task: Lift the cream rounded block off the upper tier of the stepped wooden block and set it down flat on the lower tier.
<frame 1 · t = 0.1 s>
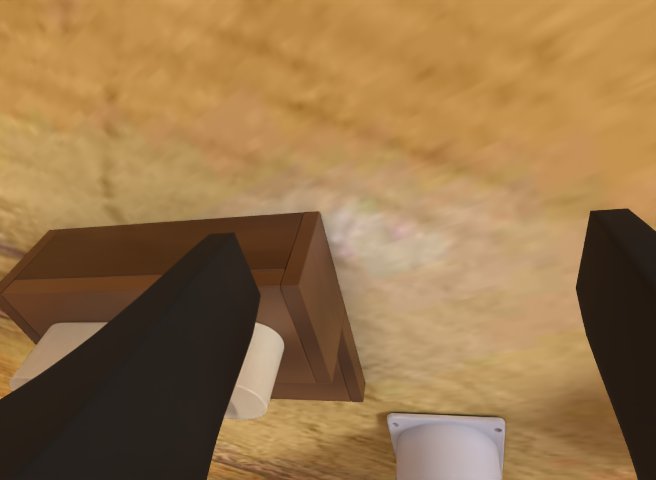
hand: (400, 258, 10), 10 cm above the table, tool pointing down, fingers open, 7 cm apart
stepped wooden block: (219, 309, 29), on the table
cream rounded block: (161, 339, 23), point 5 cm above the table, touching stepped wooden block
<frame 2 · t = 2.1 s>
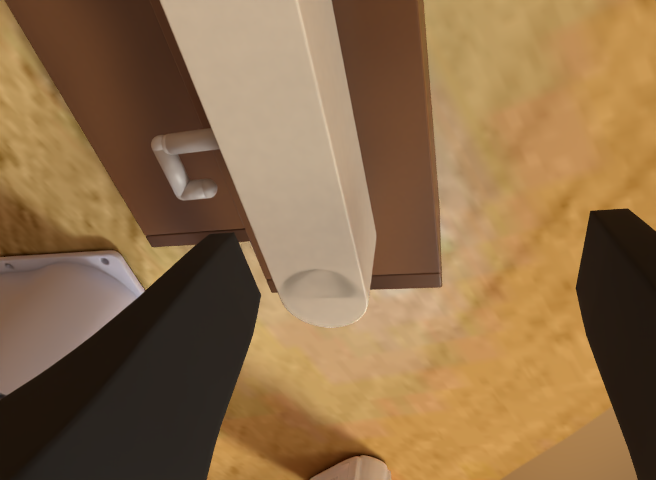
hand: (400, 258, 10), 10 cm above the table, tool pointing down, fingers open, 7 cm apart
stepped wooden block: (244, 60, 18), on the table
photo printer: (346, 471, 42), on the table
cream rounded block: (303, 103, 14), point 5 cm above the table, touching stepped wooden block
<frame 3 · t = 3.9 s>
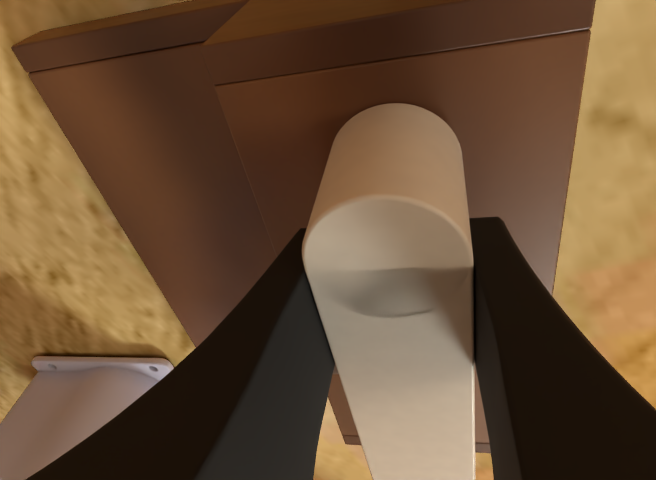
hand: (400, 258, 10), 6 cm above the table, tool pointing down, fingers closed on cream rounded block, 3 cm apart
stepped wooden block: (324, 215, 18), on the table
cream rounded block: (414, 315, 13), point 5 cm above the table, touching gripper, stepped wooden block
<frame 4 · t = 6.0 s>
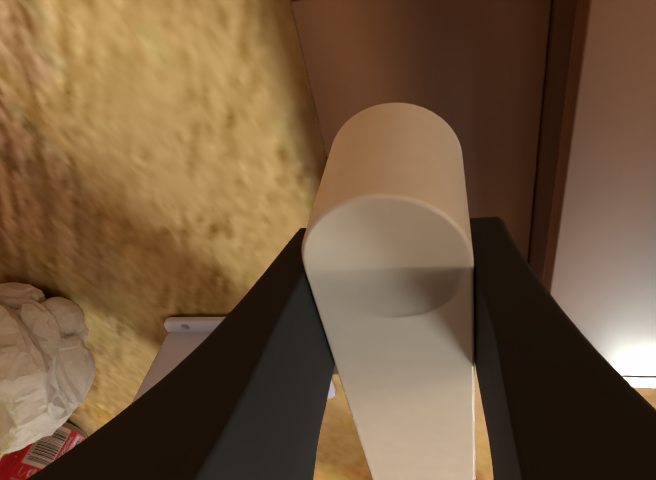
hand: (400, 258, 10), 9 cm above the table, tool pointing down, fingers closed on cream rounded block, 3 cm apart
fossil replica: (54, 313, 31), on the table
stepped wooden block: (529, 155, 18), on the table
beverage can: (64, 427, 43), on the table
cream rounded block: (414, 315, 13), point 8 cm above the table, touching gripper
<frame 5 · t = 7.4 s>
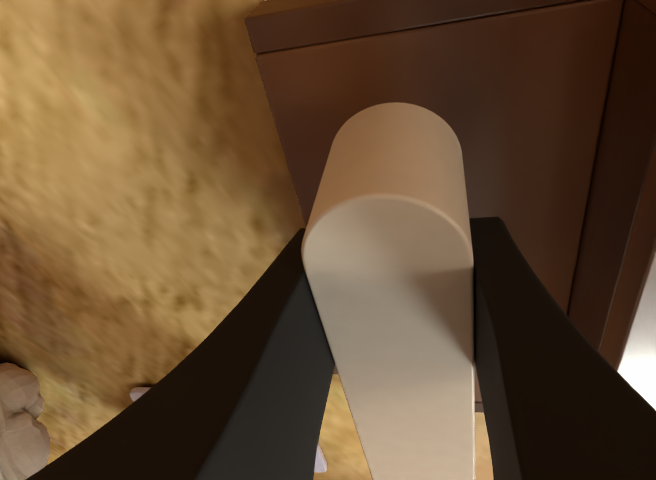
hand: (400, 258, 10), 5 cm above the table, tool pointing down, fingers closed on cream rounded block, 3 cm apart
fossil replica: (8, 376, 27), on the table
stepped wooden block: (564, 235, 14), on the table
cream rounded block: (414, 315, 13), point 3 cm above the table, touching gripper
when the fingers open (3 cm above the table, at t = 8.2 s): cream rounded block stays where it is, resting on stepped wooden block.
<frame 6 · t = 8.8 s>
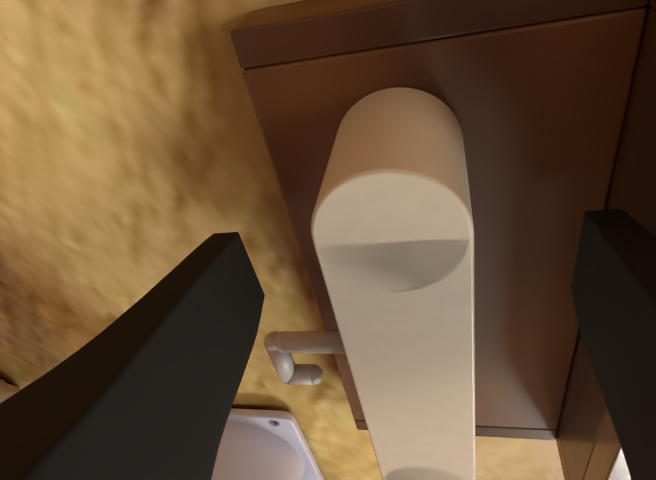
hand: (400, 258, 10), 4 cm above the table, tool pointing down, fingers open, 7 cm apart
stepped wooden block: (574, 257, 13), on the table
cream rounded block: (416, 298, 13), point 1 cm above the table, touching stepped wooden block
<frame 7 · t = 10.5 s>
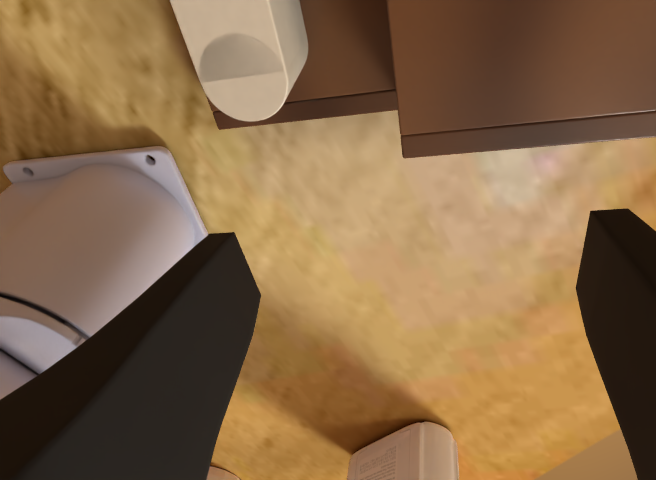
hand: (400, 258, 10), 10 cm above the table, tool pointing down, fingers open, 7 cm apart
coffee cup: (215, 476, 48), on the table
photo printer: (399, 442, 37), on the table
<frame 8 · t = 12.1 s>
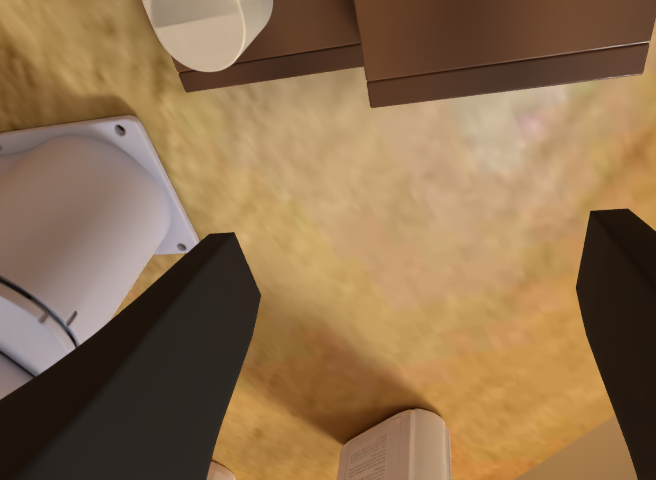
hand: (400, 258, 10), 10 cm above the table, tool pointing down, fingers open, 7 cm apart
coffee cup: (207, 469, 47), on the table
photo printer: (392, 431, 36), on the table
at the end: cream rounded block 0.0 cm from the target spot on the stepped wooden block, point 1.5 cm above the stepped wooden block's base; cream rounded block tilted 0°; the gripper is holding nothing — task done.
